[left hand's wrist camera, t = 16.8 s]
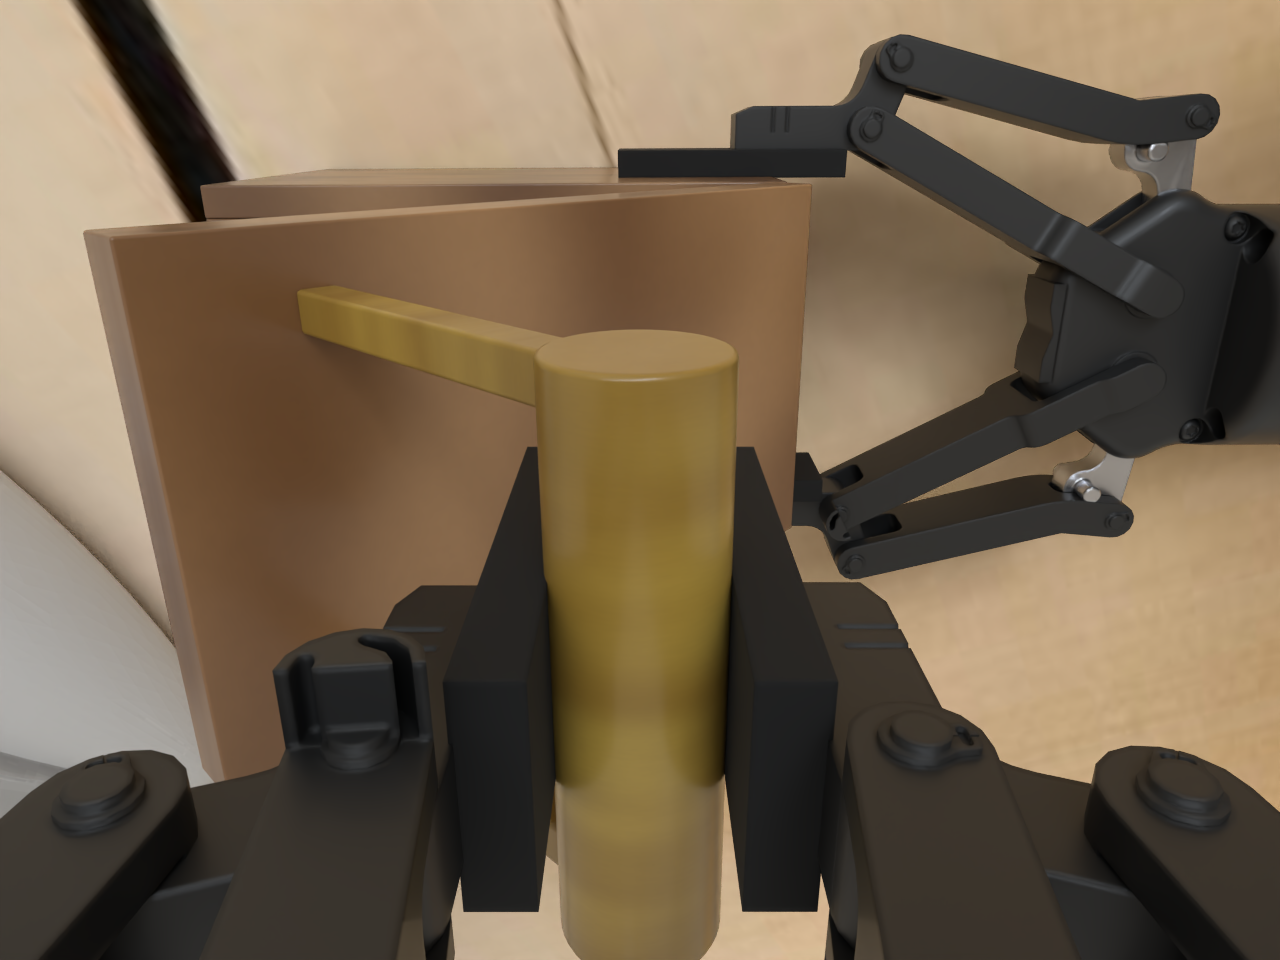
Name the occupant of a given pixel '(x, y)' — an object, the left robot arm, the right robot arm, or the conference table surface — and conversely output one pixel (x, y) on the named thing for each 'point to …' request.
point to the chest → (424, 189)
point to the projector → (77, 659)
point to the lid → (478, 476)
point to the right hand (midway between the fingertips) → (621, 330)
